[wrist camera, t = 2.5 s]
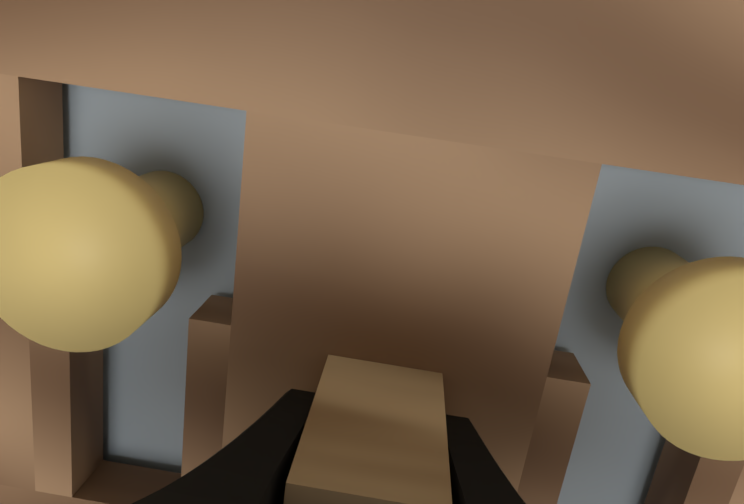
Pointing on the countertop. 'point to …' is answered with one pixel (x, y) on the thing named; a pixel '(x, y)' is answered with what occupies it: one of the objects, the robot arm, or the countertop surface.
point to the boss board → (217, 270)
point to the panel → (378, 224)
